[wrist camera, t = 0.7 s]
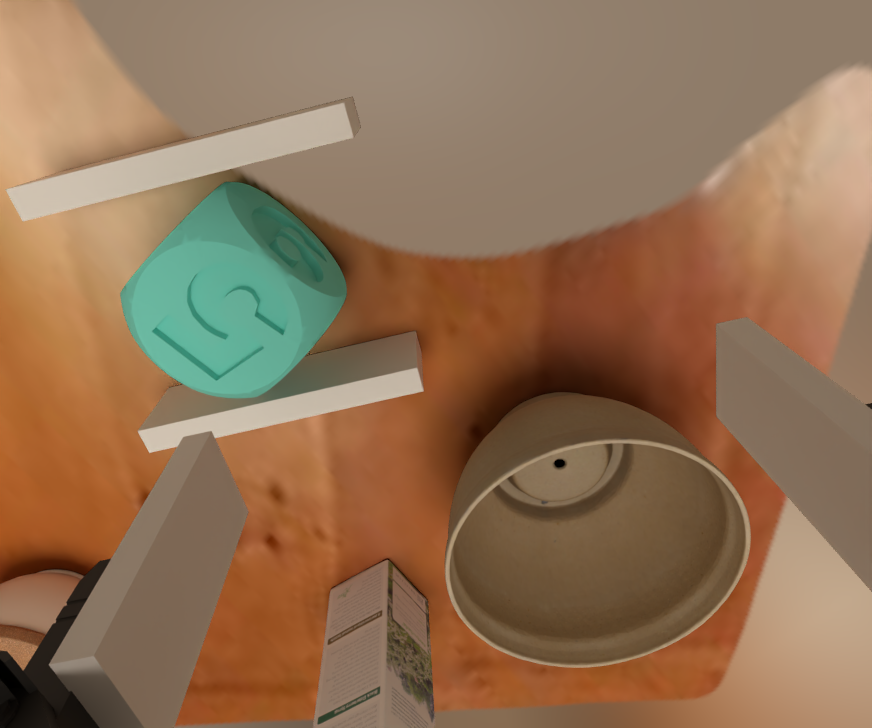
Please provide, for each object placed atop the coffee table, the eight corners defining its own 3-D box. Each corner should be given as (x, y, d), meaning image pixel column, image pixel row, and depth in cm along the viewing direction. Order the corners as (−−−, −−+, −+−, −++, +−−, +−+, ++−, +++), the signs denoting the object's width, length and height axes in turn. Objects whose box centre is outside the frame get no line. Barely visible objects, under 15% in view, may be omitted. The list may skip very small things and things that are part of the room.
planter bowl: (524, 298, 36) (568, 385, 27) (718, 413, 41) (816, 523, 31) (392, 484, 42) (388, 611, 33) (574, 567, 47) (618, 700, 37)
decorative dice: (156, 267, 35) (91, 321, 27) (245, 167, 32) (200, 196, 25) (266, 356, 37) (233, 426, 30) (354, 269, 35) (342, 323, 28)
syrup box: (327, 588, 46) (297, 792, 33) (390, 554, 45) (384, 753, 32) (371, 630, 49) (359, 836, 36) (432, 599, 47) (442, 801, 34)
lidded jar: (17, 650, 48) (-65, 776, 40) (-34, 549, 43) (-140, 667, 35) (154, 642, 48) (101, 765, 40) (118, 540, 43) (49, 655, 35)
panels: (352, 96, 31) (343, 102, 26) (421, 352, 38) (423, 391, 33) (61, 171, 32) (5, 189, 27) (178, 407, 39) (149, 452, 34)
